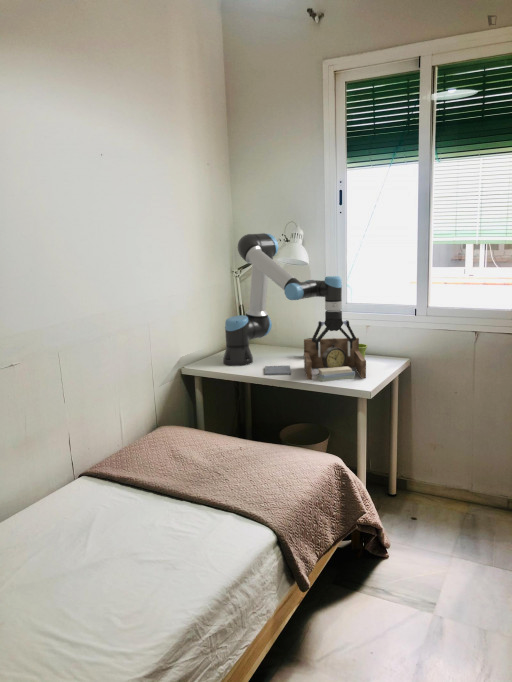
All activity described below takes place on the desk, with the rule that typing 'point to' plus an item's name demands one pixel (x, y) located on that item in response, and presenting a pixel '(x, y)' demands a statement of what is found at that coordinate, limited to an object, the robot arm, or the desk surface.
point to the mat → (277, 370)
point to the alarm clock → (334, 357)
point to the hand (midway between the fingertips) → (334, 356)
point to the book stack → (335, 373)
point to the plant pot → (362, 349)
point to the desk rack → (351, 361)
